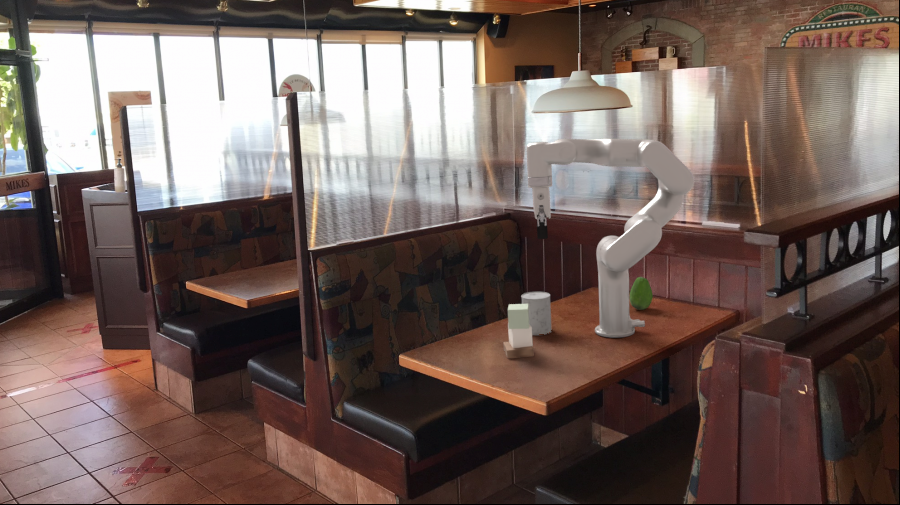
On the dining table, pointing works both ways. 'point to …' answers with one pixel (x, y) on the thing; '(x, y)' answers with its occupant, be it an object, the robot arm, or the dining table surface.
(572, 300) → the dining table surface
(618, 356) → the dining table surface
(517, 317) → the sage block
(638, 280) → the avocado
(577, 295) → the dining table surface
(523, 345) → the tower cube
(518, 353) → the walnut slab
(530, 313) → the grey marble cylinder
